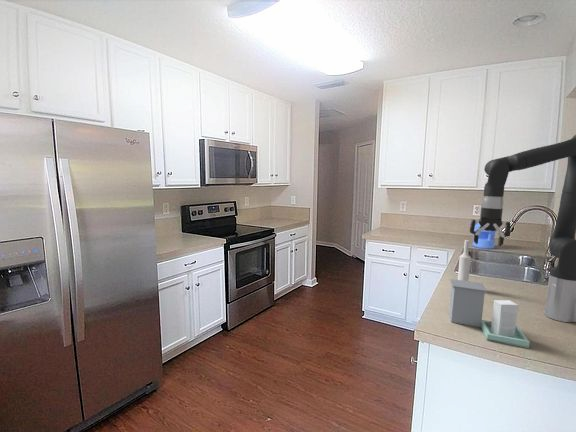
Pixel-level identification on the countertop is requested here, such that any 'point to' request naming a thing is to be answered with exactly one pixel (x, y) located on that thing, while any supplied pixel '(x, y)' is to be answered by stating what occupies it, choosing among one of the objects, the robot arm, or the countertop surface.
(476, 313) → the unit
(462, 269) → the bottle
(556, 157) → the robot arm
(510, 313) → the skincare box
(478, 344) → the countertop surface
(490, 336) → the tray
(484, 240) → the water jug
